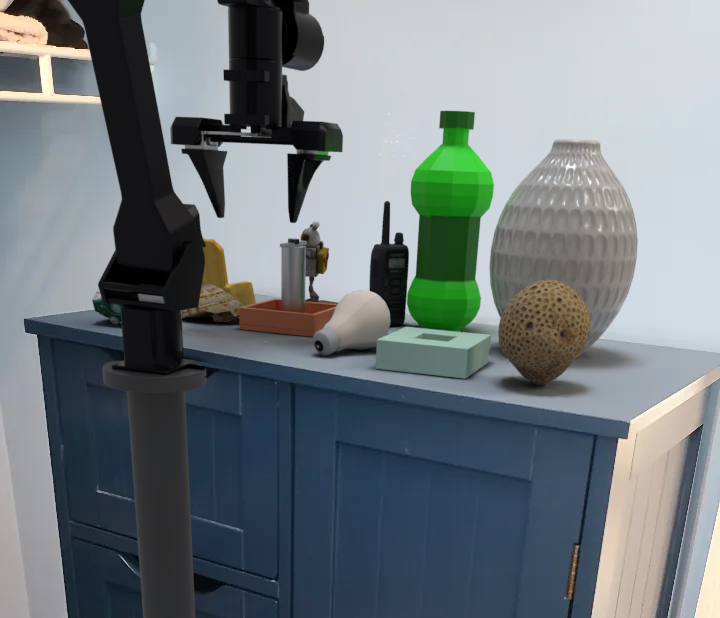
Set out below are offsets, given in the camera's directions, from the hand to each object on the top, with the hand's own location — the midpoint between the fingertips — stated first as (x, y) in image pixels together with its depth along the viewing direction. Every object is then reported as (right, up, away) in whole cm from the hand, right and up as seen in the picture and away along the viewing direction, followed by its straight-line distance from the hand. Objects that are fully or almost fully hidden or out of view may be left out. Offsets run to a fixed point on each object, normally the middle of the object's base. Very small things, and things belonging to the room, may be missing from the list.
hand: (256, 220), depth 109 cm
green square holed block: (+20, -19, -6) cm, 28 cm away
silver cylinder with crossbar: (+3, -8, +12) cm, 15 cm away
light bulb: (+10, -15, -1) cm, 19 cm away
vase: (+34, -14, +3) cm, 37 cm away
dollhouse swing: (-10, 0, +27) cm, 29 cm away
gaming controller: (-17, -9, +10) cm, 21 cm away
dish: (+3, -8, +13) cm, 15 cm away
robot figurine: (+5, -2, +25) cm, 26 cm away
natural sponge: (+30, -23, -13) cm, 40 cm away
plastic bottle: (+23, -8, +16) cm, 28 cm away
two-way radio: (+15, -6, +18) cm, 24 cm away
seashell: (-7, -6, +16) cm, 18 cm away
